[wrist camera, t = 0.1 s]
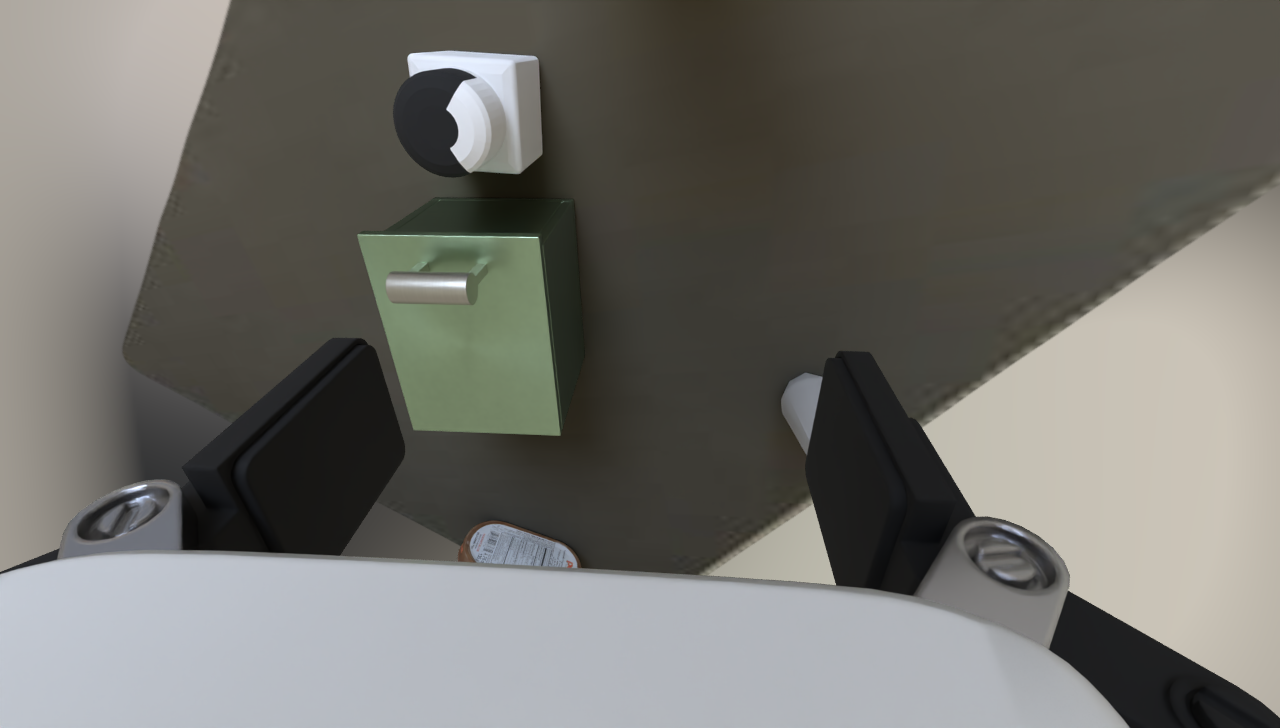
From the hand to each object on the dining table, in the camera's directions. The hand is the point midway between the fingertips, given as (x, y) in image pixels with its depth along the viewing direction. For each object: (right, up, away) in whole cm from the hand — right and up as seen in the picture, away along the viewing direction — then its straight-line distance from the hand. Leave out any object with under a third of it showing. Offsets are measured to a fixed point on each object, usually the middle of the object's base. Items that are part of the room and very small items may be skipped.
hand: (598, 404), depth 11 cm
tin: (-13, -21, +57) cm, 63 cm away
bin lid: (-12, +3, +29) cm, 31 cm away
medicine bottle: (-10, +21, +31) cm, 39 cm away
